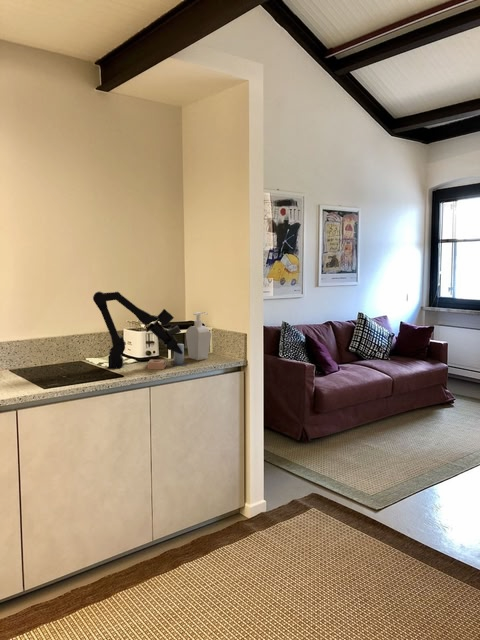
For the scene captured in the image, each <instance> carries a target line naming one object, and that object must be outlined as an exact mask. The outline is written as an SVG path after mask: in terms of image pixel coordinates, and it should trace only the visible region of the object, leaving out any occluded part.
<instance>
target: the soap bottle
mask: <svg viewBox="0 0 480 640" xmlns="http://www.w3.org/2000/svg"><path fill="white" fill-rule="evenodd" d="M201 314H205V315H208V313H206V312H204V311H196V312H194V313H193V316H196V319H195V320H194V325H193V326H192V325H190V326H189V327H188V328H187V329H186V331H185V337H186V345H187V352H188V358H189V359H191V360H196V361H202V360H208V358H209V351H210V345H211V338H212V333H211V331H210V330H209V327H207V326H205V325H203V320H202V319H201Z"/></svg>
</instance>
